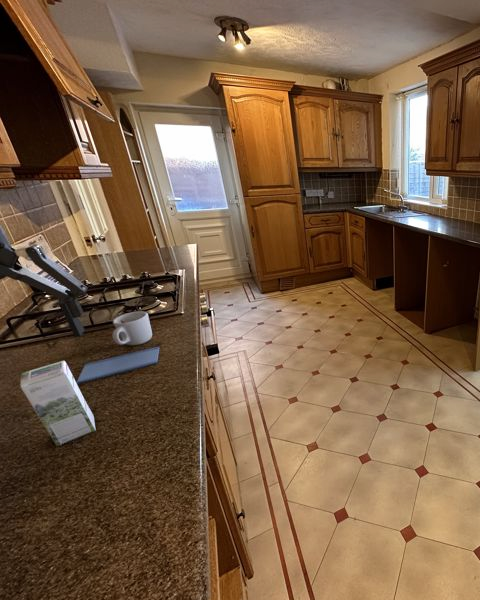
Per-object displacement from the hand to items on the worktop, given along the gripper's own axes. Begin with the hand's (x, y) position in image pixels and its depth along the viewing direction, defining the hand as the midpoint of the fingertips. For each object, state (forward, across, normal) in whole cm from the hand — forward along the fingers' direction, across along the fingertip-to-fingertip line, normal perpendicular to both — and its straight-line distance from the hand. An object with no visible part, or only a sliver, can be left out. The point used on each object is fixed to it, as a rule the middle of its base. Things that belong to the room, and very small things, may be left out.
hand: (28, 344), depth 55 cm
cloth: (+20, +4, +24) cm, 32 cm away
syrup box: (+20, 0, 0) cm, 20 cm away
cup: (+20, +6, +35) cm, 41 cm away
